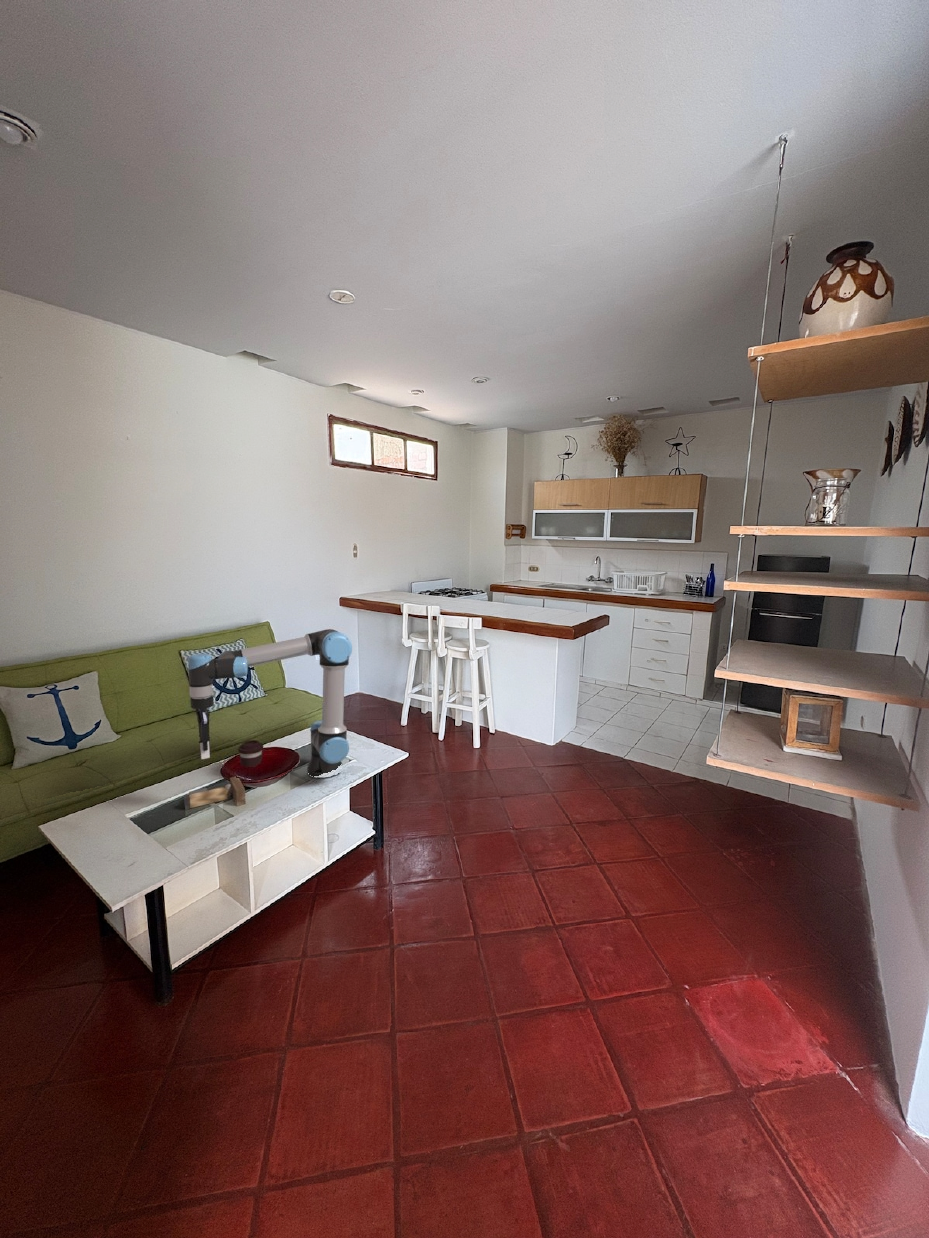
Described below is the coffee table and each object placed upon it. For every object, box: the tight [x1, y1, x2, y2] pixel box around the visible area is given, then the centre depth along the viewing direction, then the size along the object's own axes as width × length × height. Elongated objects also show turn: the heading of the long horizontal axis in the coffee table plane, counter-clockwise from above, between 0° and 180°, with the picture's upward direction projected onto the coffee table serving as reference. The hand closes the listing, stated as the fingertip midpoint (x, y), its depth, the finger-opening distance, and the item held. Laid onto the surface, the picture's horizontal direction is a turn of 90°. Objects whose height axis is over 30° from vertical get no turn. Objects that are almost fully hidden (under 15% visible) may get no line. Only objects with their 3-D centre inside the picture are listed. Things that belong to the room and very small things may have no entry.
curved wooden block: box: [229, 775, 246, 807], centre depth 193 cm, size 3×14×6 cm, turn 35°
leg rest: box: [188, 787, 208, 795], centre depth 190 cm, size 6×3×4 cm, turn 125°
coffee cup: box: [237, 739, 264, 767], centre depth 213 cm, size 10×10×15 cm
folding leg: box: [183, 783, 232, 810], centre depth 189 cm, size 16×3×5 cm, turn 125°
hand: (205, 757), depth 183 cm, fingers closed
